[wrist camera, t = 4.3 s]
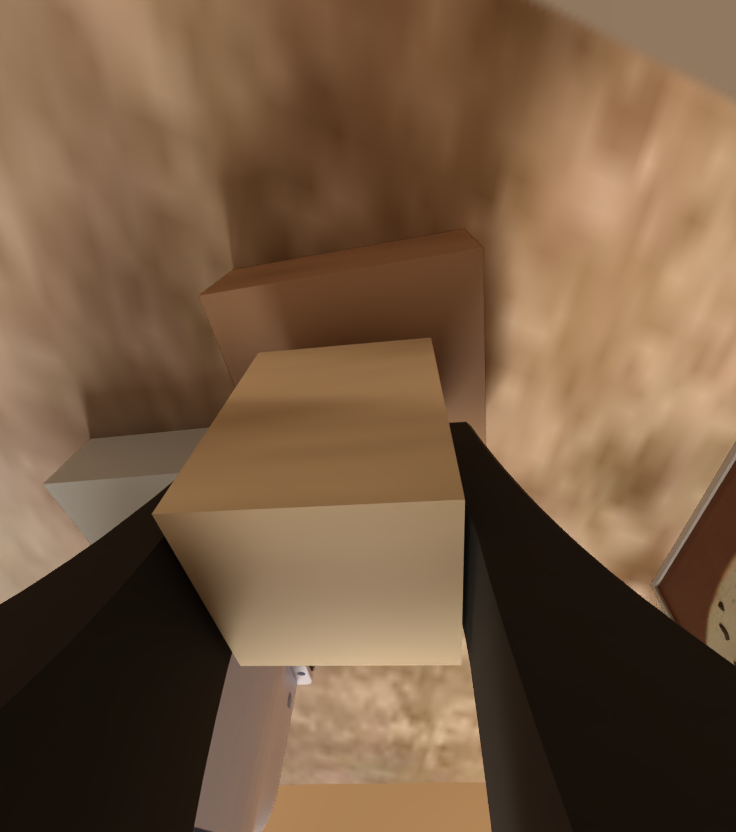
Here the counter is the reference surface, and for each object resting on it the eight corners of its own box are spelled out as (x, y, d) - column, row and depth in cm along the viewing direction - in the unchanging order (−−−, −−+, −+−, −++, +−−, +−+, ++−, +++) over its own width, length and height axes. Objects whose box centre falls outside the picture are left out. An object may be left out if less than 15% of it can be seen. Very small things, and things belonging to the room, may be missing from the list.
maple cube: (435, 472, 11) (461, 665, 7) (295, 479, 12) (240, 666, 7) (431, 337, 9) (465, 499, 5) (258, 352, 9) (151, 513, 5)
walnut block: (471, 423, 15) (486, 476, 13) (296, 443, 16) (279, 495, 14) (463, 226, 12) (482, 247, 9) (236, 266, 13) (198, 295, 10)
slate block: (298, 536, 20) (285, 593, 17) (166, 544, 20) (134, 599, 18) (256, 418, 16) (230, 468, 13) (95, 434, 17) (43, 484, 14)
